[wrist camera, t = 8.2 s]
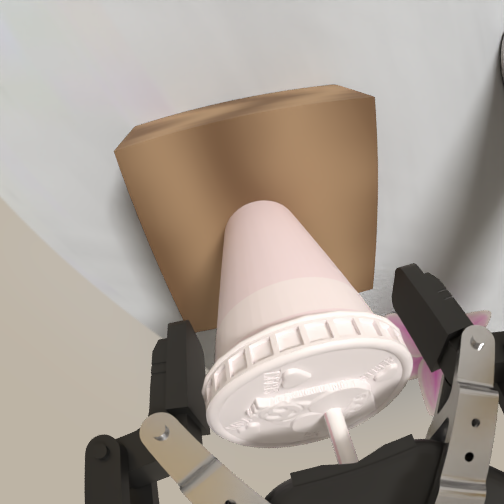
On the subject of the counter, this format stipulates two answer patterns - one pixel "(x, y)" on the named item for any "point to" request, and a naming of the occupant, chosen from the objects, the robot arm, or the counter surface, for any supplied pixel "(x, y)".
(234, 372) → the smoothie
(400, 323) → the lily
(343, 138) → the walnut block
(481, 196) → the counter surface
